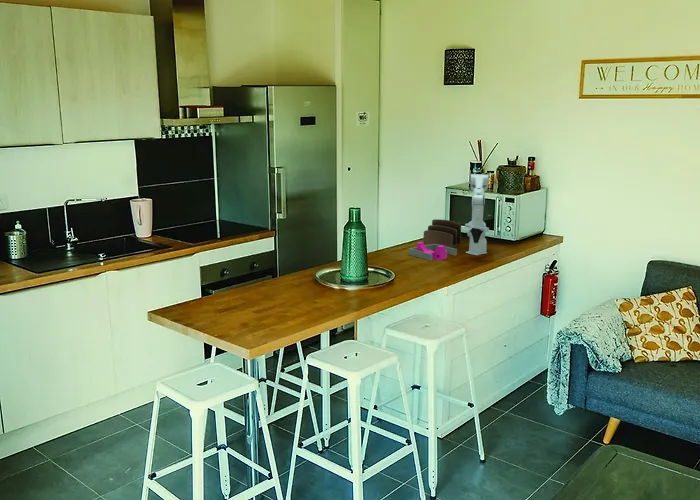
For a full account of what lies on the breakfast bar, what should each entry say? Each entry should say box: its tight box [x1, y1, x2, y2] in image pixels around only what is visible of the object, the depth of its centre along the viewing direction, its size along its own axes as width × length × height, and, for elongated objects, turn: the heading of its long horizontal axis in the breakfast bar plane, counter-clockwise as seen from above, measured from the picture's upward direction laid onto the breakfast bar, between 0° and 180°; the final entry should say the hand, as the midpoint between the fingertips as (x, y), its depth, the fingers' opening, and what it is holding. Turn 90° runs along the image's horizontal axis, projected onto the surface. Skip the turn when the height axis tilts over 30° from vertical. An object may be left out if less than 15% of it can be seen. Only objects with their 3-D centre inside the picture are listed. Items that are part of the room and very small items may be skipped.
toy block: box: [416, 241, 448, 261], centre depth 366 cm, size 15×6×8 cm, turn 55°
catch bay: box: [408, 244, 458, 262], centre depth 371 cm, size 20×17×4 cm
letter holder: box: [422, 218, 462, 249], centre depth 396 cm, size 10×20×14 cm, turn 51°
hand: (476, 242), depth 359 cm, fingers closed
